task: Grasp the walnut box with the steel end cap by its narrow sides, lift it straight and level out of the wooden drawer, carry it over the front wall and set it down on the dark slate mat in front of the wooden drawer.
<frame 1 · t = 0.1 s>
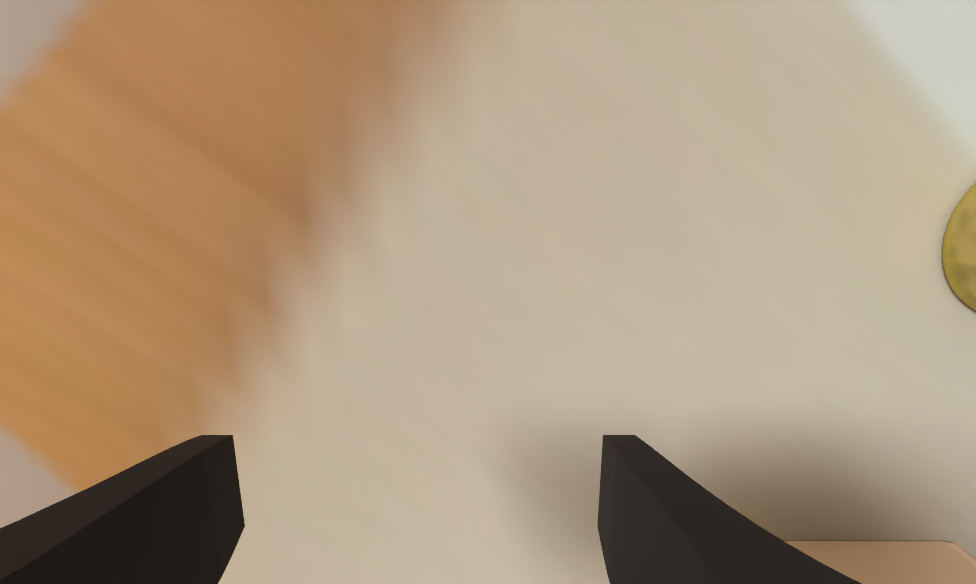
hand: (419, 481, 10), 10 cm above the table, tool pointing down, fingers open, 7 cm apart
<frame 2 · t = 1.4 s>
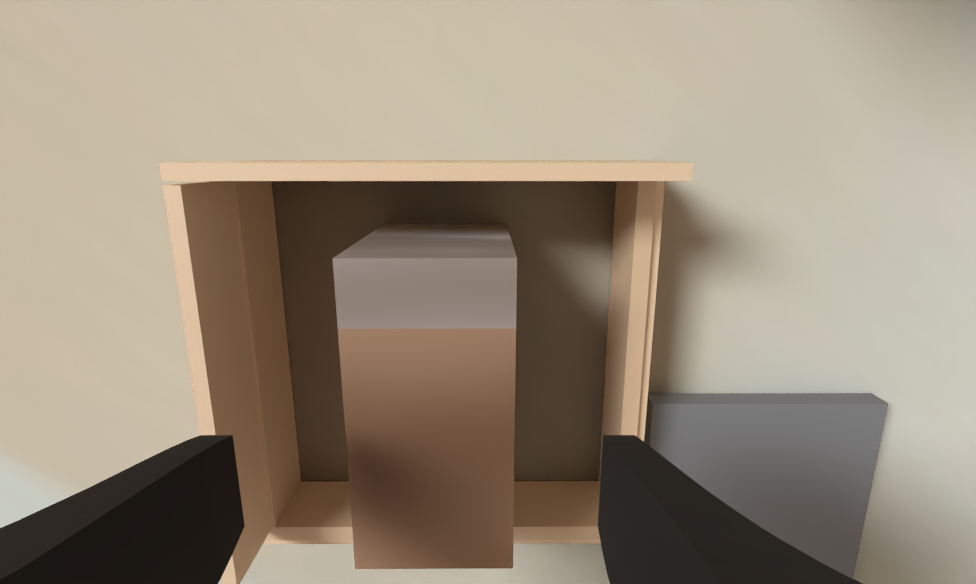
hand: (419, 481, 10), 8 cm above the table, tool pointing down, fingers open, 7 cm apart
walnut box: (447, 340, 18), resting in wooden drawer
slate mat: (739, 538, 20), on the table
wooden drawer: (447, 340, 18), on the table
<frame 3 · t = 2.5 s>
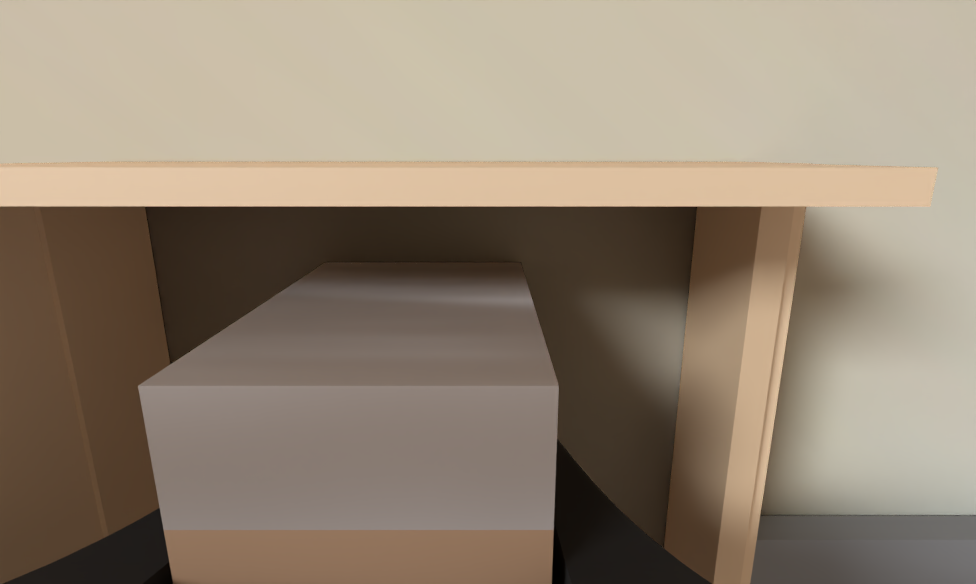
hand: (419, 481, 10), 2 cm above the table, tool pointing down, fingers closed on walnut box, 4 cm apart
walnut box: (428, 438, 12), resting in wooden drawer, touching gripper
wooden drawer: (428, 438, 12), on the table
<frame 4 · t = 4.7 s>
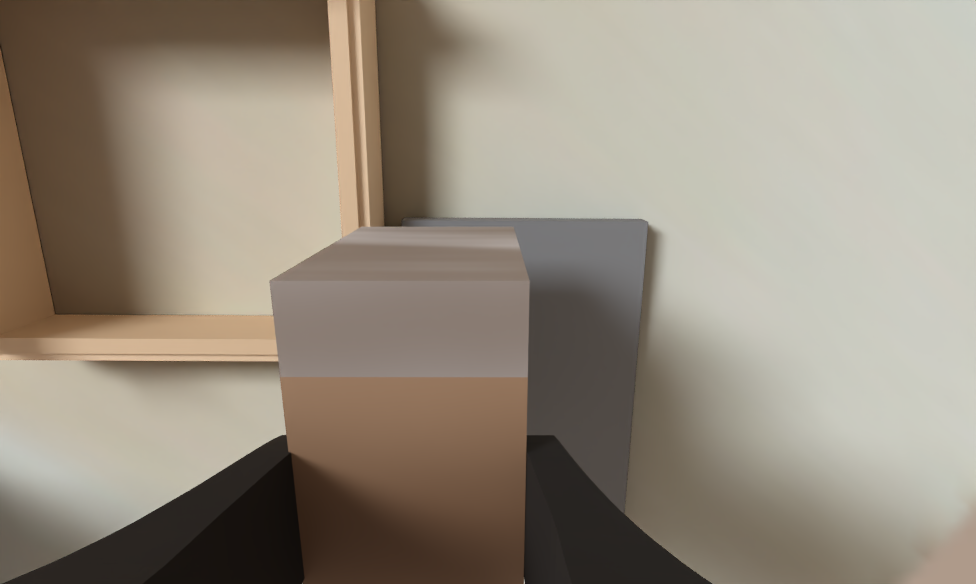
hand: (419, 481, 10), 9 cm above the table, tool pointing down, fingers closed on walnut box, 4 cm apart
walnut box: (441, 368, 15), point 4 cm above the table, touching gripper
slate mat: (519, 382, 19), on the table
wooden drawer: (190, 155, 17), on the table
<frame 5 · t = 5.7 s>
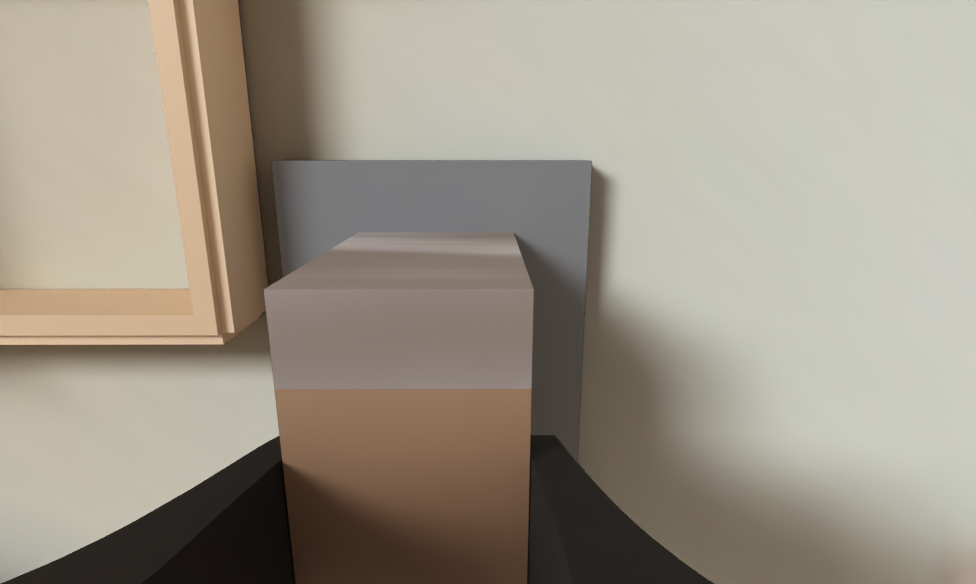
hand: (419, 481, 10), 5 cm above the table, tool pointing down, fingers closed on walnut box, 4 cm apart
walnut box: (439, 376, 15), point 1 cm above the table, touching gripper, slate mat
slate mat: (439, 371, 15), on the table
when the fingers open (4 cm above the table, at t = 6.8 s): walnut box stays where it is, resting on slate mat.
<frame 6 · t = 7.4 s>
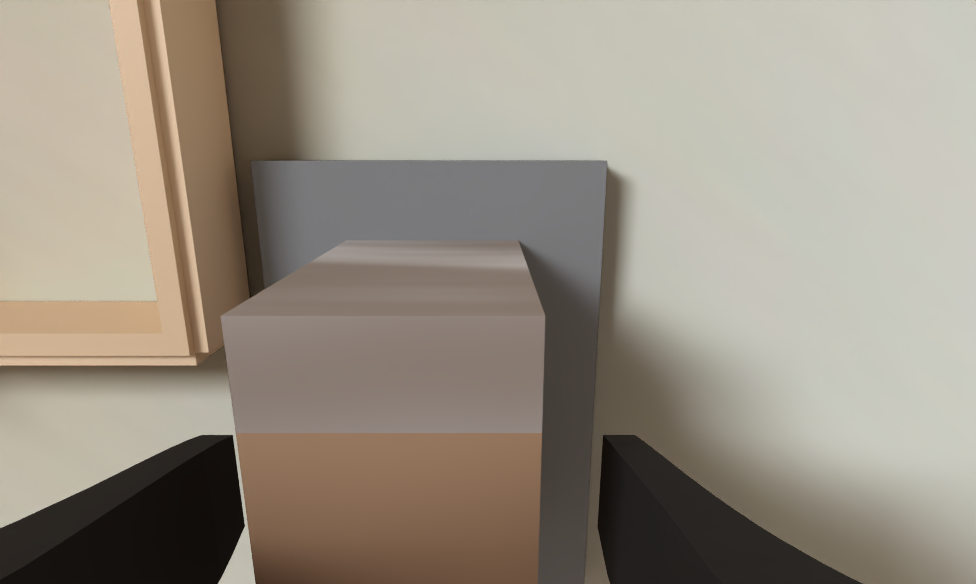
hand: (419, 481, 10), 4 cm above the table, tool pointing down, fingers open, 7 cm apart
walnut box: (436, 398, 13), point 1 cm above the table, touching slate mat
slate mat: (438, 391, 14), on the table
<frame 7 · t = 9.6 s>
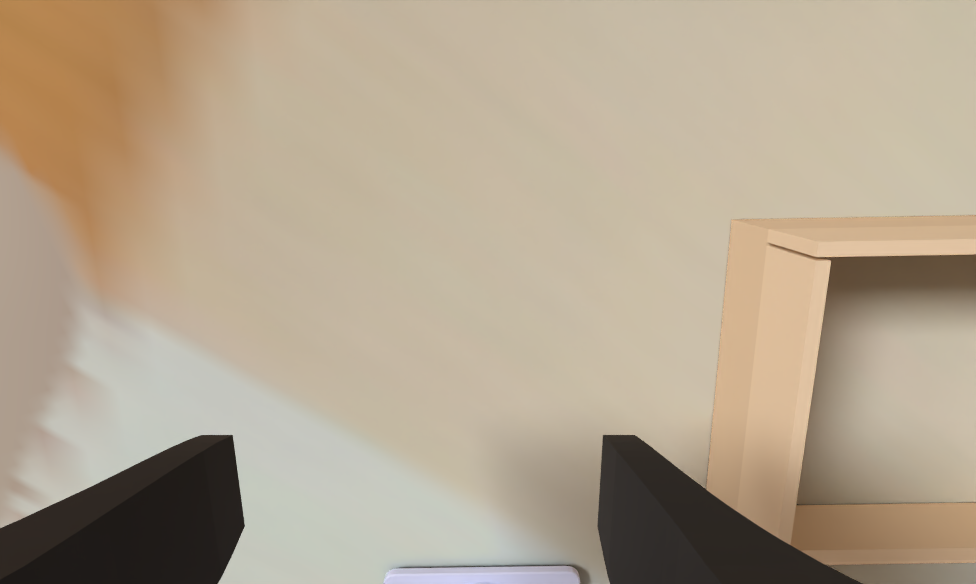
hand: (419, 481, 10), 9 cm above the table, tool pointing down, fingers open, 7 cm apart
wooden drawer: (876, 376, 20), on the table
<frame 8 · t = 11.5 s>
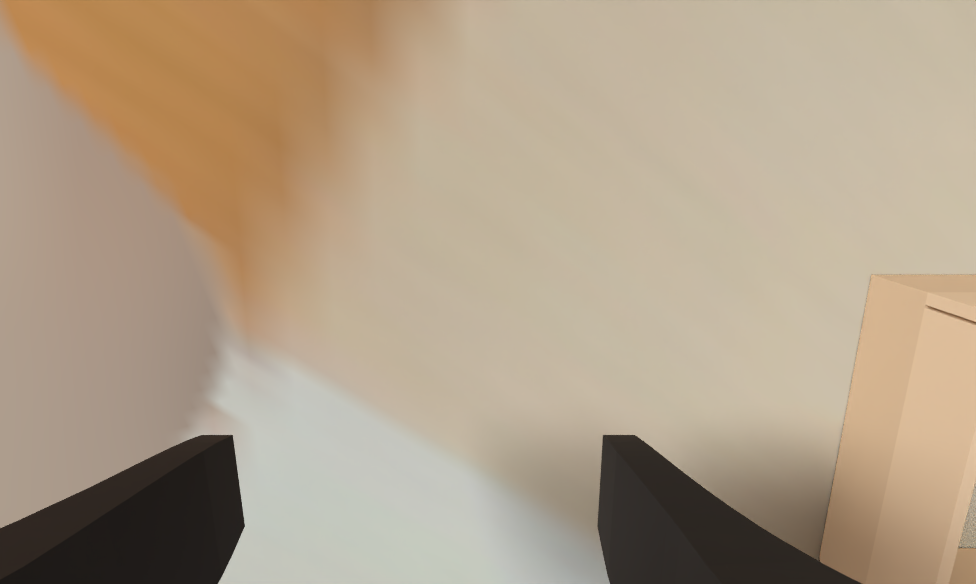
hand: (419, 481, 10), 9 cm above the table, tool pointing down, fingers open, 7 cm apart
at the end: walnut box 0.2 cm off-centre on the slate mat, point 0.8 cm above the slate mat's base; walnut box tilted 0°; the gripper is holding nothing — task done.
